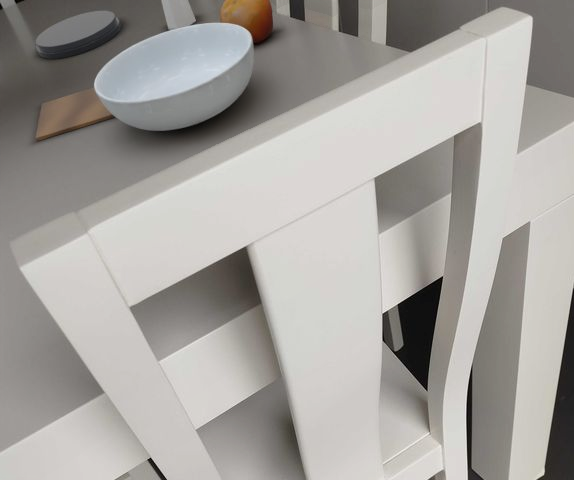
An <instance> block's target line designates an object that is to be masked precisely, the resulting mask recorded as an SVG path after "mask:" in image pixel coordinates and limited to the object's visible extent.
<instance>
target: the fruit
mask: <svg viewBox="0 0 574 480" xmlns="http://www.w3.org/2000/svg"><path fill="white" fill-rule="evenodd" d="M219 14H220V15H219V16H220V23H230V24H235V25H239V26H241V27H243V28H245V29H246V30H248V31H249V32H250V34H251V36H252V39H253V44H260V43H261V42H263V41H265V40H266V39H267V38H269V36H271V34H272V33H273V32H274V17H273V6H272V4H271V1H270V0H224V2H223V4H222V6H221V9H220V11H219Z"/></svg>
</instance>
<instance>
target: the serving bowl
mask: <svg viewBox="0 0 574 480" xmlns="http://www.w3.org/2000/svg"><path fill="white" fill-rule="evenodd" d="M254 49H255V48H254V43H253V39H252V36H251V34H250V32H249V31H248V30H246V29H245V28H243V27H241V26H239V25H235V24H230V23H221V22H207V23H197V24H192V25H190V26H186V27H182V28H178V29H174V30H167V31H164V32H161V33H158V34H156V35H153V36H150V37H148V38H145V39H144V40H141V41H139V42H137V43H134V44H132V45H131V46H129V47H128V48H126V49H125V50H123V51H121V52H120V53H119V54H117V55H116V56H114V57H113V58H112V59H110V60H109V61H108V62H107V63H106V64H104V65H103V66H102V67H101V69H100V70H99V72H98V73H97V75H96V77H95V79H94V83H93V88H94V89H95V92H96V94H97V95H98V97H99V98H100V100H101V101H102V103H103V104H104V106H105V107H106V108H107V109H108V110H109V111H110V113H111V114H113V115H114V116H115V117H114V118H116V119H117V120H119V121H120V122H122V123H124V124H126V125H128V126H130V127H132V128H136V129H139V130H145V131H150V132H151V131H154V132H160V131H161V132H164V131H174V130H178V129H183V128H187V127H192V126H194V125H197V124H200V123H202V122H205V121H207V120H209V119H211V118H213V117H215V116H217V115H219V114H220V113H222V112H223V111H225V110H226V109H227V108H229V107H230V106H231V105H232V104H234V103H235V102H236V101H237V100H238V99H239V98H240V97H241V95H242V94H243V92H244V91H245V90H246V88H247V86H248V84H249V82H250V81H251V77H252V75H253V71H254V65H255V50H254Z"/></svg>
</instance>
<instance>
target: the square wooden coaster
mask: <svg viewBox="0 0 574 480" xmlns="http://www.w3.org/2000/svg"><path fill="white" fill-rule="evenodd" d="M114 118H116V117H115V116H114V115H113V114H111V113H110V111H109V110H108V109H107V108H106V107H105V106H104V104H103V103H102V101H101V100H100V98H99V97H98V95H97V94H96V92H95V89H94V87H91V88H87V89H84V90H81V91H78V92H75V93H71V94H68V95H66V96H62V97H59V98H56V99H52V100H48V101H45V102H43V103H41V107H40V111H39V116H38V122H37V127H36V133H35V137H34V138H35V140H36V142H40V141H43V140H45V139H46V140H47V139H49V138H52V137H56V136H59V135H61V134H65V133H68V132H71V131H75V130H79V129H81V128H85V127H88V126H92V125H95V124H99V123H101V122H103V121H107V120H110V119H114Z"/></svg>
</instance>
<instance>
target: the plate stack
mask: <svg viewBox="0 0 574 480" xmlns="http://www.w3.org/2000/svg"><path fill="white" fill-rule="evenodd" d="M121 29H122V23H121V21H120V19H119V18H118V17H117V16H116V15H115V13H114V12H113V11H110V10H94V11H87V12H84V13H80V14H77V15H74V16H70V17H68V18H66V19H63V20H61V21H59V22H57V23H55V24H53V25H51V26H49V27H48V28H46V29H44V30H43V31H42V32H41V33H40V34H39V35H37V37H36V40H35V44H36V51H37V53H38V55H39V56H40V57H41V58H43V59H47V60H57V59H64V58H69V57H73V56H77V55H80V54H84V53H86V52H89V51H91V50H93V49H96V48H98V47H100V46H102V45H104V44H105V43H107V42H109V41H110V40H112V39H113V38H115V36H117V35H118V34H119V33H120V31H121Z"/></svg>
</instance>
